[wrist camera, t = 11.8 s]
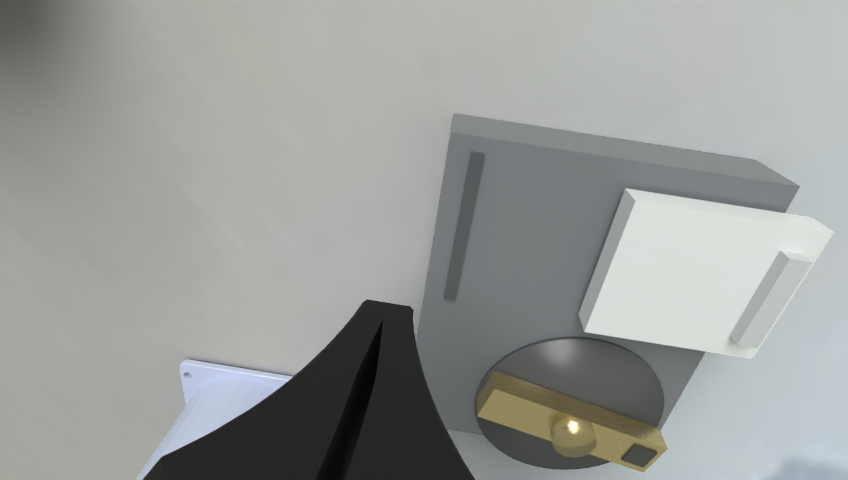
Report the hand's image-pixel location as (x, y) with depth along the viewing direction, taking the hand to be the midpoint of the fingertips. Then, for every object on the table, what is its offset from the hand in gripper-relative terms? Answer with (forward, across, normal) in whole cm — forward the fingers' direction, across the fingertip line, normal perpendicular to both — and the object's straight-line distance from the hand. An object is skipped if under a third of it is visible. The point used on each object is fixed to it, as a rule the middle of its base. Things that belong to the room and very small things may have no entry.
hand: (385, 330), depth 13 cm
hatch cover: (+7, -11, 0) cm, 13 cm away
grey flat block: (+10, -8, +4) cm, 13 cm away
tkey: (+7, -9, +9) cm, 14 cm away
